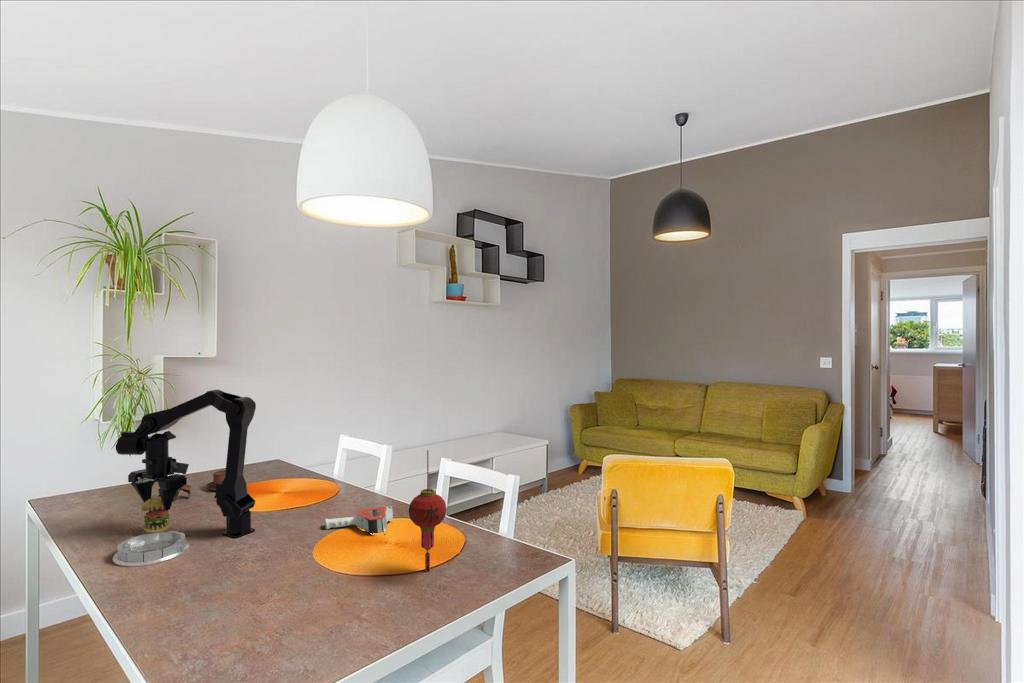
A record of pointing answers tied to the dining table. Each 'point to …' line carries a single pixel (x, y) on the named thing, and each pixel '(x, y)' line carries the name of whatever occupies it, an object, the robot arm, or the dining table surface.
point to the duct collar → (150, 548)
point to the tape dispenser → (365, 520)
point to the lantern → (427, 516)
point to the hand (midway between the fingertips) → (157, 507)
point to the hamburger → (155, 515)
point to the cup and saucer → (216, 479)
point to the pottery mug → (185, 488)
